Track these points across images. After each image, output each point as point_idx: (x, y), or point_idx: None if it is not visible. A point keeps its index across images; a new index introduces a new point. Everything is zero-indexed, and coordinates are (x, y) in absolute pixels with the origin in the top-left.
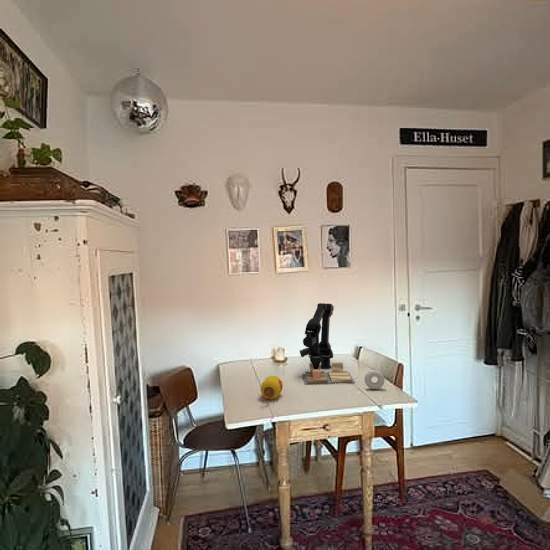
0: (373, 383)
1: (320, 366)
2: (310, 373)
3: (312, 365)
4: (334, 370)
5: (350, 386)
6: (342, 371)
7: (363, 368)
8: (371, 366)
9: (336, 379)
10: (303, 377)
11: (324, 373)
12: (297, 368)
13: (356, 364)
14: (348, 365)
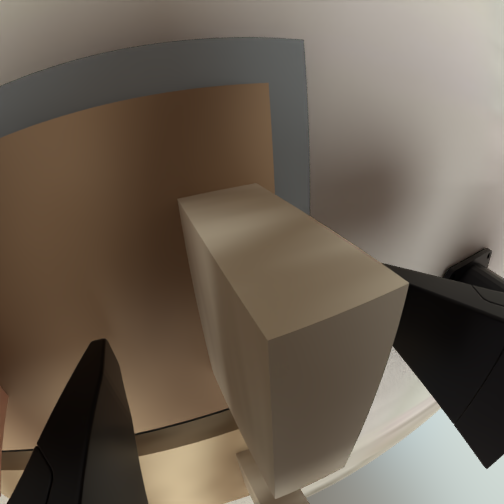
0: None
1: (473, 260)
2: (122, 222)
3: (250, 381)
4: (243, 474)
5: (4, 498)
6: (246, 487)
7: (356, 458)
8: (372, 459)
9: (8, 490)
10: (19, 81)
11: (168, 419)
12: (482, 45)
13: (422, 409)
14: (426, 391)
